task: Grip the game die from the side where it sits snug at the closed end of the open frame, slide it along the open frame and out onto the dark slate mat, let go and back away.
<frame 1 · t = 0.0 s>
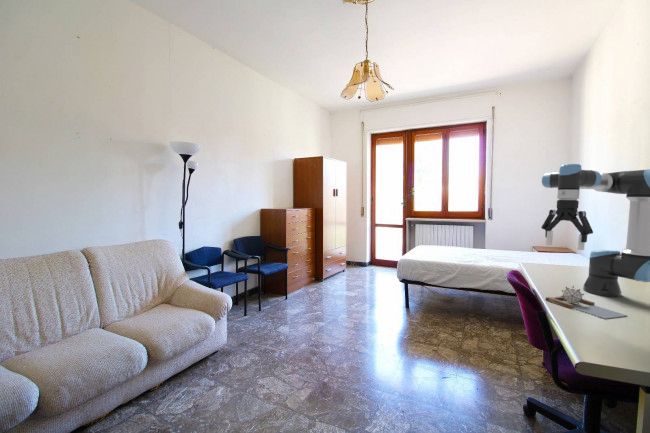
hand: (564, 247, 134), 28 cm above the table, tool pointing down, fingers open, 13 cm apart
mat: (599, 312, 133), on the table
open frame: (569, 302, 145), on the table
game die: (571, 304, 144), on the table
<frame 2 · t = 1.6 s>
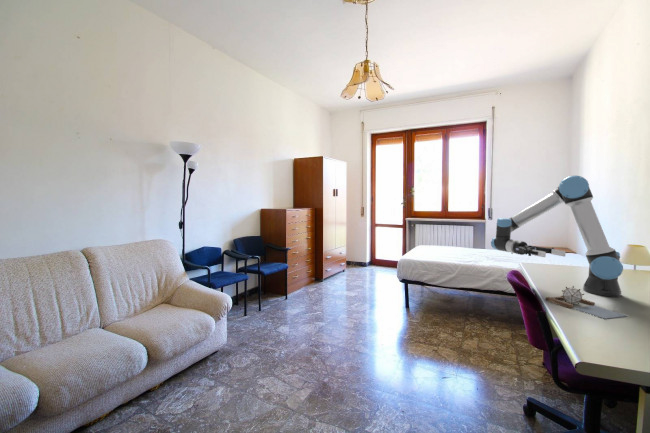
hand: (555, 254, 151), 22 cm above the table, tool horizontal, fingers open, 13 cm apart
nothing on the table moved.
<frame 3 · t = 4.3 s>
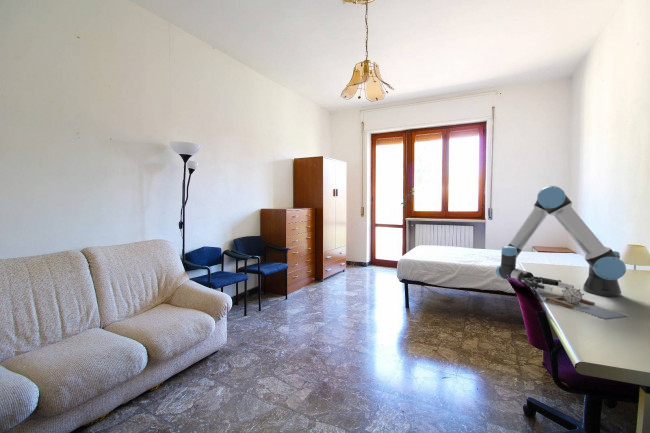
hand: (561, 288, 147), 6 cm above the table, tool horizontal, fingers open, 13 cm apart
nothing on the table moved.
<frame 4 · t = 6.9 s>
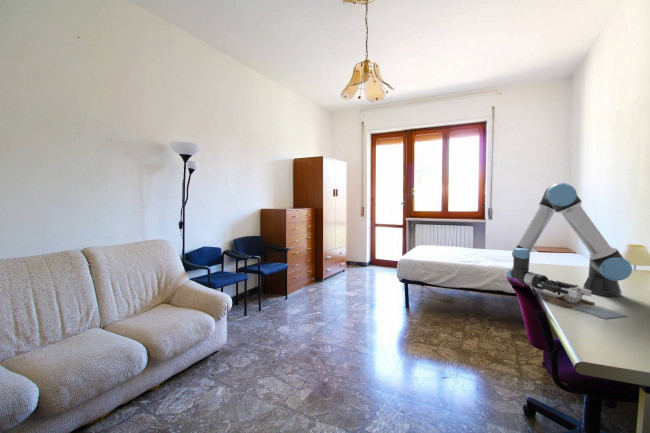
hand: (583, 294, 139), 6 cm above the table, tool horizontal, fingers closed on game die, 8 cm apart
game die: (571, 304, 144), on the table, touching gripper
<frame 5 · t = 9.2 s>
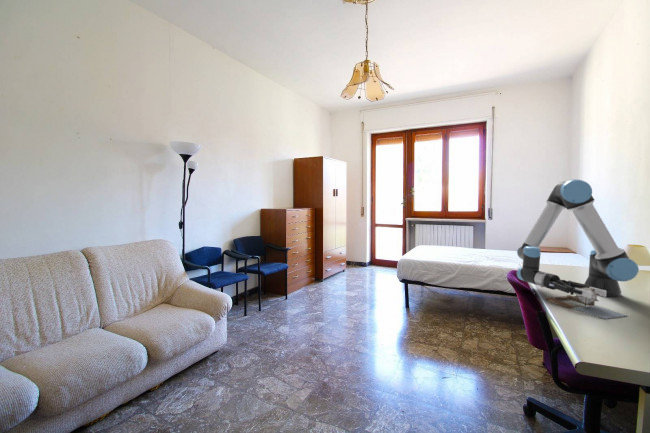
hand: (598, 294, 132), 8 cm above the table, tool horizontal, fingers closed on game die, 8 cm apart
game die: (585, 304, 137), point 2 cm above the table, touching gripper
when the fingers open (8 cm above the table, at t = 11.6 s): game die drops 2 cm, resting on mat.
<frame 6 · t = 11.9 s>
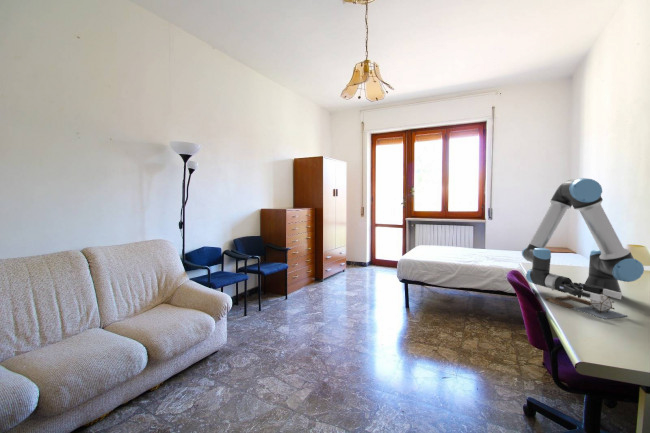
hand: (610, 297, 129), 8 cm above the table, tool horizontal, fingers open, 12 cm apart
game die: (600, 312, 132), resting on mat
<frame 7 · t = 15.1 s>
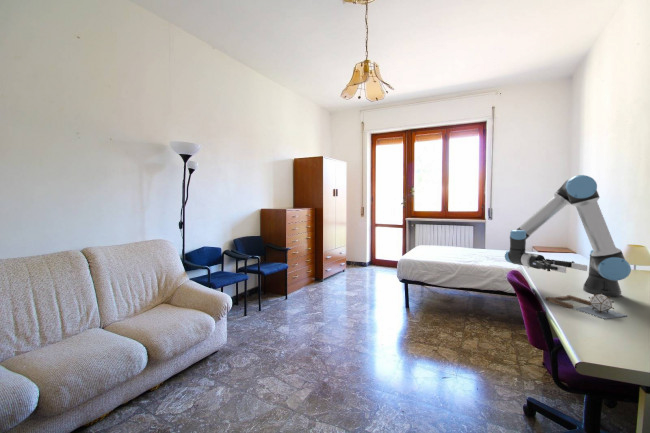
hand: (576, 269, 141), 17 cm above the table, tool horizontal, fingers open, 13 cm apart
nothing on the table moved.
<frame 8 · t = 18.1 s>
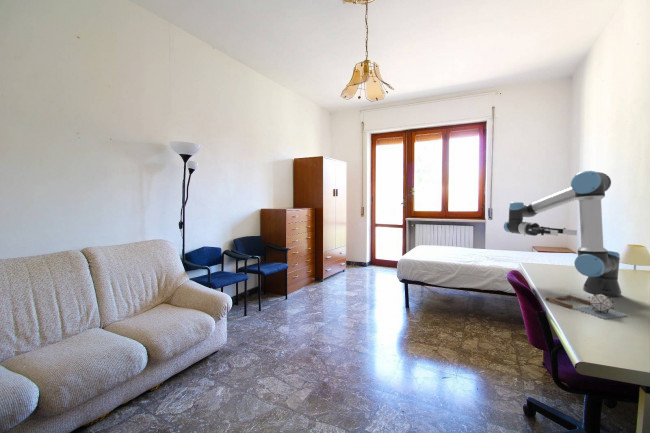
hand: (567, 233, 159), 32 cm above the table, tool horizontal, fingers open, 13 cm apart
nothing on the table moved.
at the end: game die inside the target area (0.1 cm from its centre), resting on mat; game die tilted 0°; the gripper is holding nothing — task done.
